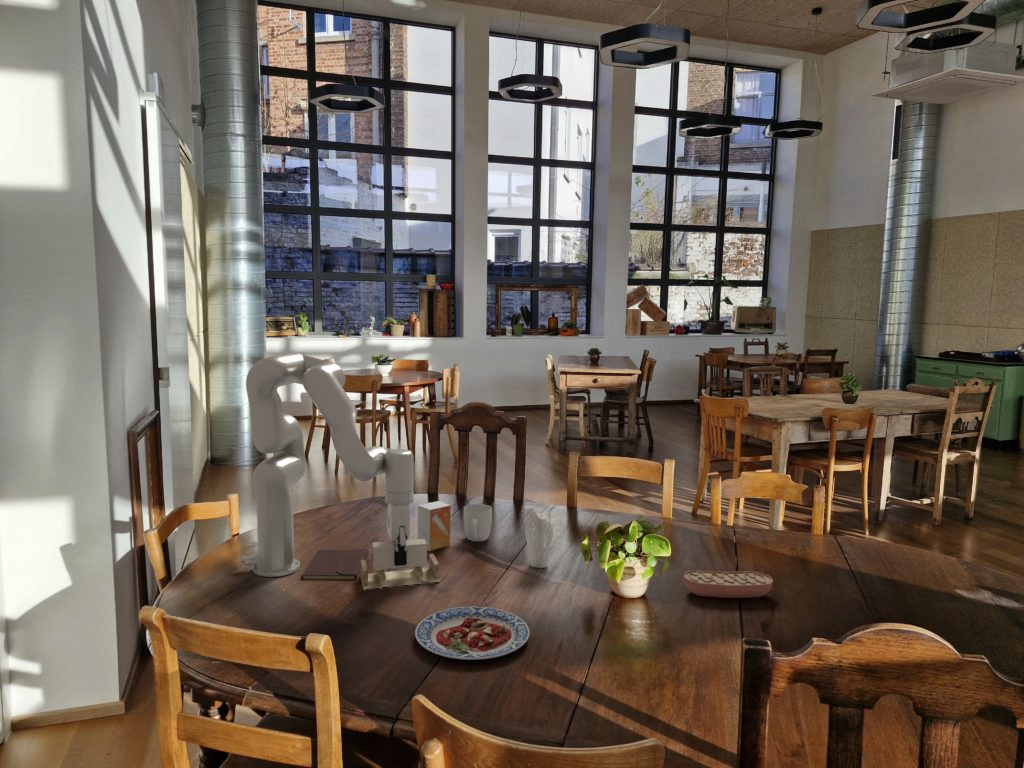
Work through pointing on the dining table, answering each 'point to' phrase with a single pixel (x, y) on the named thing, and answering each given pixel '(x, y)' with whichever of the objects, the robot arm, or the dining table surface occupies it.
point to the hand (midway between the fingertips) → (399, 561)
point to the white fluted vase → (538, 536)
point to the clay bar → (385, 550)
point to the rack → (400, 575)
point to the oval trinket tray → (728, 584)
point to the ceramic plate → (472, 633)
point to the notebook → (335, 564)
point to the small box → (434, 524)
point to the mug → (477, 521)
